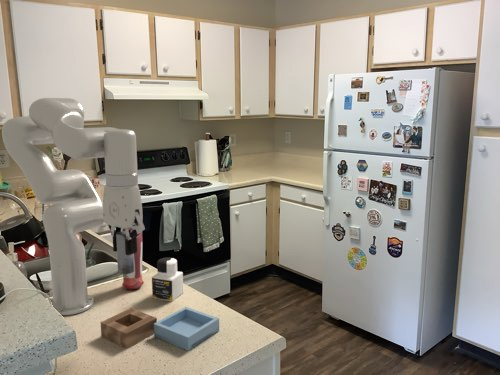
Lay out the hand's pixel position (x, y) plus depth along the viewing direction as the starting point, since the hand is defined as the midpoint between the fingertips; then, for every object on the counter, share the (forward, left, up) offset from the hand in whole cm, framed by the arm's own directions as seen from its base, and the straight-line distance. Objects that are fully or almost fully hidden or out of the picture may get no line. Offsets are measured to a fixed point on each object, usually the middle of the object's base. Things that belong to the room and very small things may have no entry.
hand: (125, 251), depth 112 cm
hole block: (0, 0, -23) cm, 23 cm away
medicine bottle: (-9, +23, -23) cm, 34 cm away
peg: (0, 0, -5) cm, 5 cm away
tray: (+12, +9, -23) cm, 27 cm away
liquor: (-23, +21, -23) cm, 39 cm away
